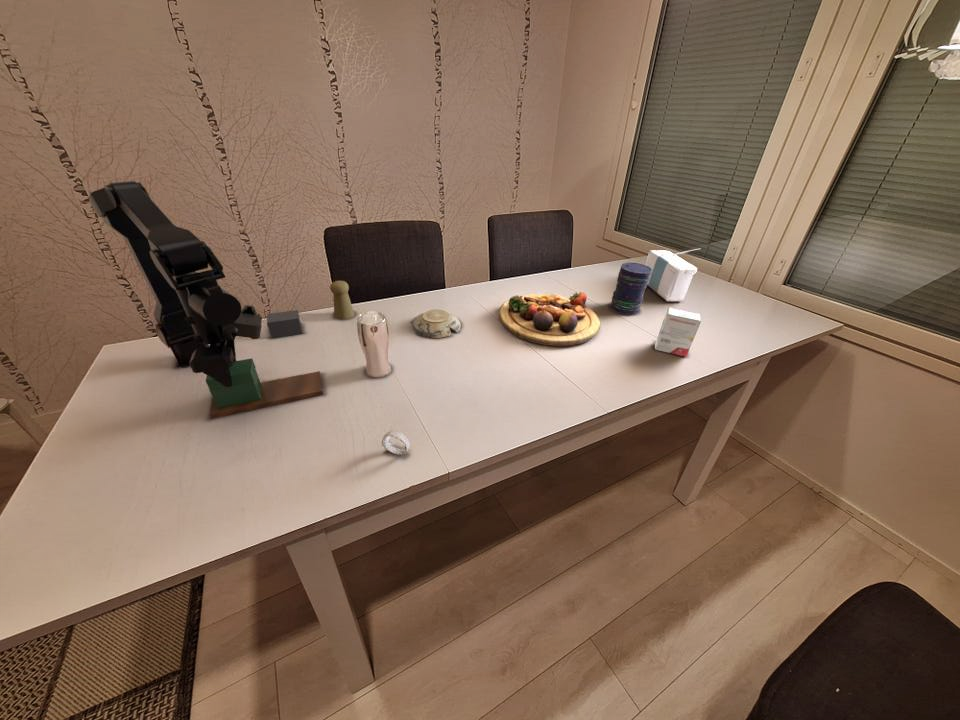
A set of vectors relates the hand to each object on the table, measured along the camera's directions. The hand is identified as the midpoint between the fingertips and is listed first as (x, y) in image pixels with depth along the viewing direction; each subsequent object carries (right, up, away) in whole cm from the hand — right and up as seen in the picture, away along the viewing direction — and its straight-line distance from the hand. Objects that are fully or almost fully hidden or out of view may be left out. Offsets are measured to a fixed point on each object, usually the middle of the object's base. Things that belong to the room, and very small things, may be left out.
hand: (231, 374), depth 77 cm
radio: (+123, +30, +67) cm, 143 cm away
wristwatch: (+36, -15, -6) cm, 40 cm away
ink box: (+108, +6, +31) cm, 113 cm away
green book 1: (0, -3, +2) cm, 4 cm away
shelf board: (+5, -5, +6) cm, 9 cm away
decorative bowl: (+39, +13, +36) cm, 55 cm away
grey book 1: (-3, +13, +28) cm, 31 cm away
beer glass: (+27, 0, +16) cm, 31 cm away
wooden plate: (+74, +15, +42) cm, 87 cm away
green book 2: (0, -5, +3) cm, 6 cm away
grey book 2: (-4, +11, +29) cm, 31 cm away
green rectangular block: (0, -1, +1) cm, 1 cm away
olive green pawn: (+9, +17, +39) cm, 43 cm away
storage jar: (+103, +21, +52) cm, 118 cm away
